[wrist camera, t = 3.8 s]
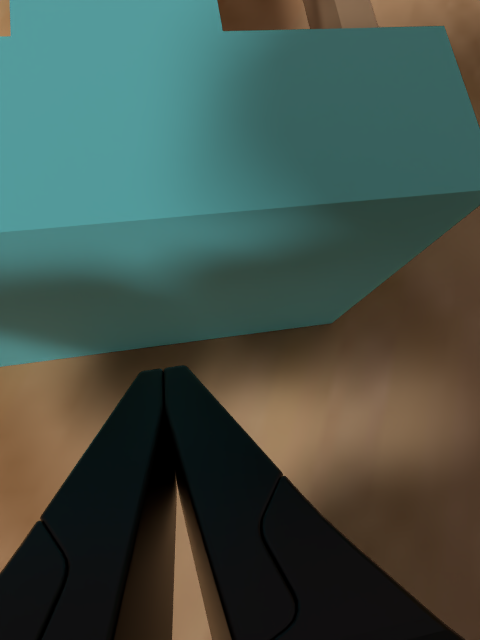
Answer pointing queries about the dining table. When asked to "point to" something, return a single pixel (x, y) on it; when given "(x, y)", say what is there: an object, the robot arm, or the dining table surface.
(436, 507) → the dining table surface
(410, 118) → the t block
